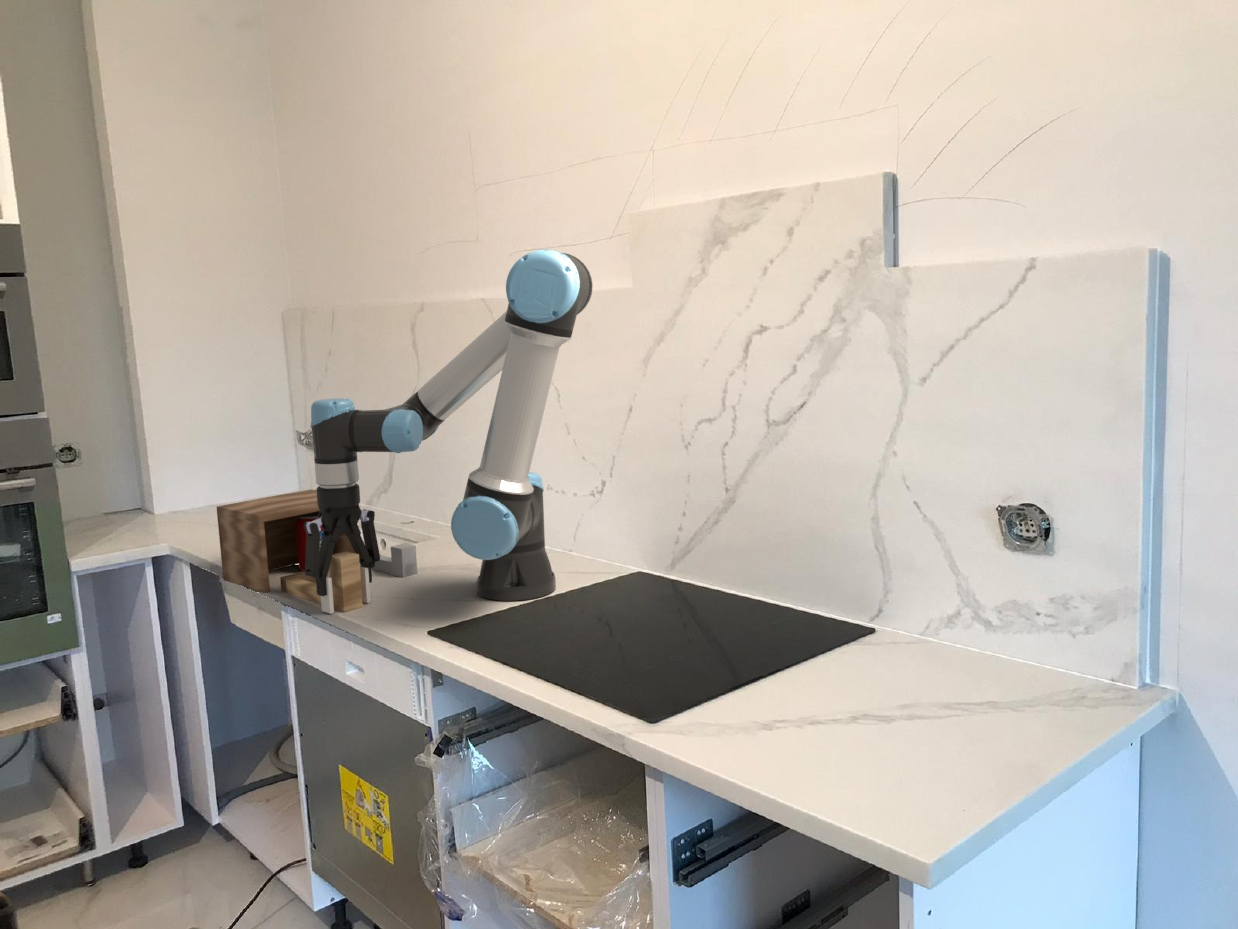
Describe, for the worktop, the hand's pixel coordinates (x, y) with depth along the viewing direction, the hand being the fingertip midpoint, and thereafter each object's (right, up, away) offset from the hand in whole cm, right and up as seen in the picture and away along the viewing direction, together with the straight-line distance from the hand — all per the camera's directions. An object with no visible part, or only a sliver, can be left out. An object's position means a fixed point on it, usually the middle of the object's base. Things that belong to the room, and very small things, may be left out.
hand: (346, 606), depth 184 cm
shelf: (-18, +3, +25) cm, 31 cm away
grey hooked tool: (+2, +4, +25) cm, 26 cm away
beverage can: (-14, +4, +28) cm, 32 cm away
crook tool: (-5, +1, +8) cm, 9 cm away
